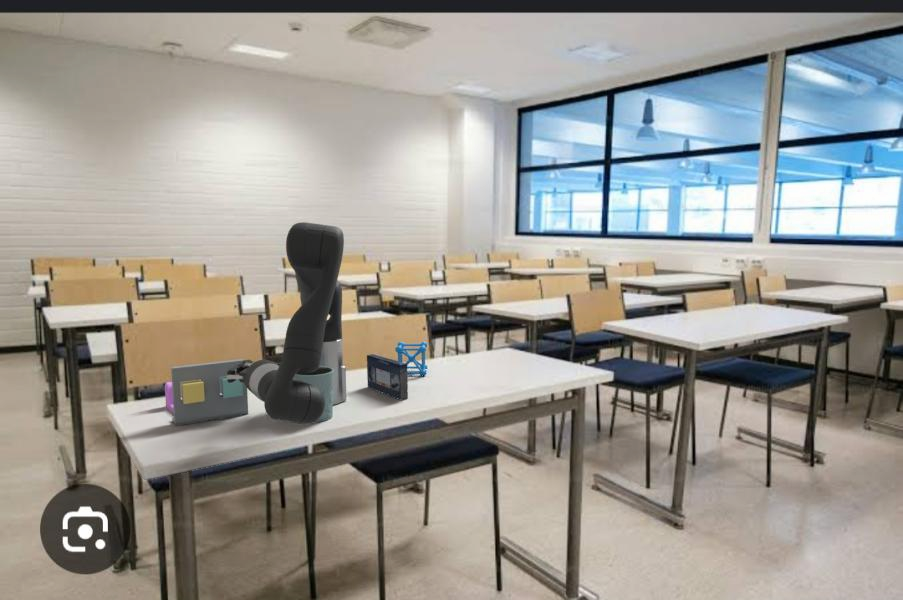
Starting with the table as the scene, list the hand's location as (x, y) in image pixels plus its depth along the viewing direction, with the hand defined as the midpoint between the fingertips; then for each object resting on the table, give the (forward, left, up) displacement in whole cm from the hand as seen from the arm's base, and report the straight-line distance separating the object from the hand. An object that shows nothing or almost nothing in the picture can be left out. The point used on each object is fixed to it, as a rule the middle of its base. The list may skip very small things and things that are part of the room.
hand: (246, 364), depth 136 cm
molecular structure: (-60, -30, -16) cm, 69 cm away
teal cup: (-16, -2, -16) cm, 23 cm away
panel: (+5, -16, -16) cm, 23 cm away
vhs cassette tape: (-42, -13, -16) cm, 47 cm away
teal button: (+1, -15, -10) cm, 18 cm away
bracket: (+10, -27, -16) cm, 33 cm away
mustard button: (+10, -15, -10) cm, 20 cm away
